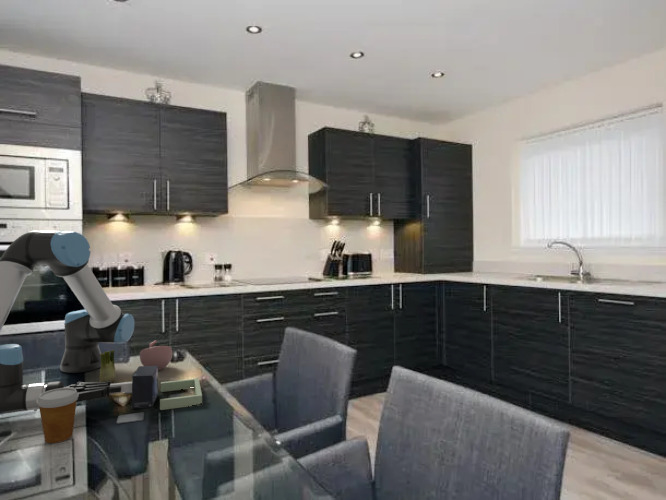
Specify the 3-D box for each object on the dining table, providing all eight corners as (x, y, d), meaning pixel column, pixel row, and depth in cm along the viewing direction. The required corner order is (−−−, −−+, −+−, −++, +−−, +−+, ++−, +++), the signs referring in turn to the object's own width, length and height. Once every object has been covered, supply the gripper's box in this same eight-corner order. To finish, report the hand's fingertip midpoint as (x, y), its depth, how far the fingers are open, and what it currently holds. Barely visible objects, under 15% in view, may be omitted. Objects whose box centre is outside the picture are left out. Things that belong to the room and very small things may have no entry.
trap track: (125, 388, 154) (125, 380, 154) (197, 380, 162) (197, 372, 162) (116, 424, 126) (116, 413, 126) (203, 412, 134) (203, 402, 134)
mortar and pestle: (169, 363, 183) (168, 336, 183) (175, 371, 173) (175, 342, 173) (137, 368, 177) (137, 339, 176) (142, 376, 167) (142, 346, 166)
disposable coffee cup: (87, 432, 120) (87, 389, 120) (55, 449, 111) (54, 402, 111) (61, 427, 123) (61, 385, 123) (28, 442, 114) (27, 397, 114)
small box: (153, 407, 138) (153, 374, 137) (131, 409, 136) (130, 376, 136) (159, 395, 148) (158, 364, 147) (138, 396, 146) (137, 365, 146)
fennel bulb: (114, 380, 162) (113, 348, 161) (118, 384, 158) (118, 351, 158) (96, 384, 158) (96, 351, 157) (101, 388, 154) (100, 354, 154)
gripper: (52, 399, 138) (134, 391, 146) (40, 416, 125) (131, 405, 134) (51, 376, 137) (134, 368, 145) (40, 390, 125) (131, 381, 133)
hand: (133, 386), depth 139 cm, fingers closed
